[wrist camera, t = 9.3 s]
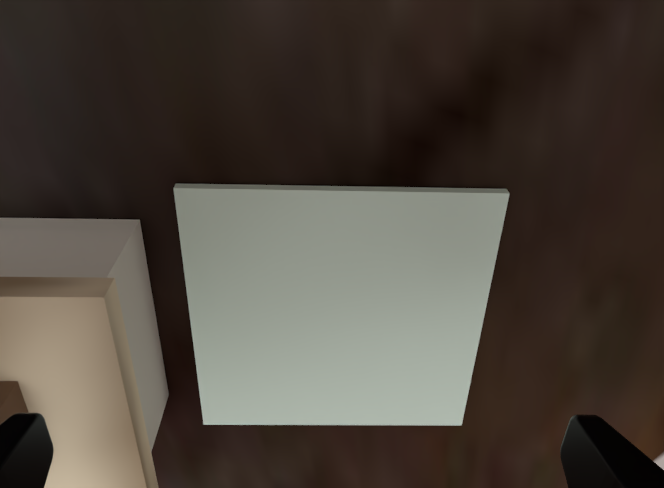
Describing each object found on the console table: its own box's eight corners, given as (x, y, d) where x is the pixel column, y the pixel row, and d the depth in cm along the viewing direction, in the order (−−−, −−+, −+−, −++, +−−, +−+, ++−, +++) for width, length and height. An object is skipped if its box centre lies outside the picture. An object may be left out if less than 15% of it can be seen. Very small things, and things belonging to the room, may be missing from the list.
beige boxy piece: (139, 219, 21) (99, 290, 17) (168, 394, 26) (142, 481, 22) (-108, 215, 21) (-205, 286, 17) (-34, 393, 25) (-97, 481, 22)
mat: (506, 188, 21) (509, 193, 20) (459, 418, 27) (461, 425, 27) (175, 183, 20) (173, 188, 20) (205, 417, 26) (203, 424, 26)
